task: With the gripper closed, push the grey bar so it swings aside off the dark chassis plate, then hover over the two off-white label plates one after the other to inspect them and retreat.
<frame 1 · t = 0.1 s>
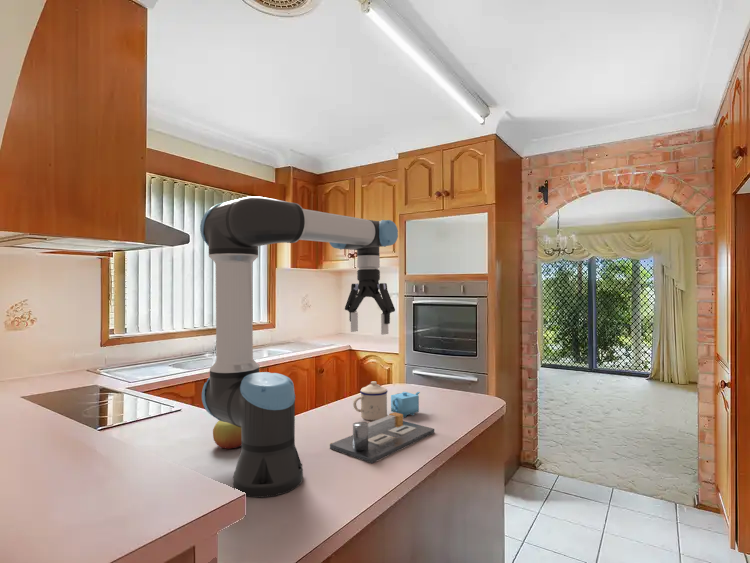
hand: (369, 332, 142), 28 cm above the worktop, fingers open, 13 cm apart
teacup with lid: (370, 418, 141), on the worktop
teapot: (407, 414, 145), on the worktop
chassis plate: (384, 440, 120), on the worktop
grey bar: (378, 428, 117), point 4 cm above the worktop, hinge at 0.0°
apple: (231, 446, 118), on the worktop
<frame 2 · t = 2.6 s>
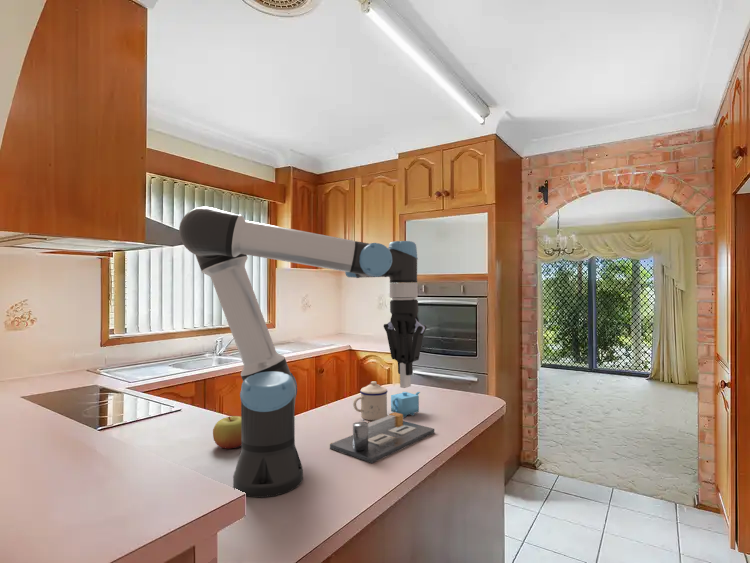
hand: (405, 386, 115), 16 cm above the worktop, fingers closed
nothing on the worktop moved.
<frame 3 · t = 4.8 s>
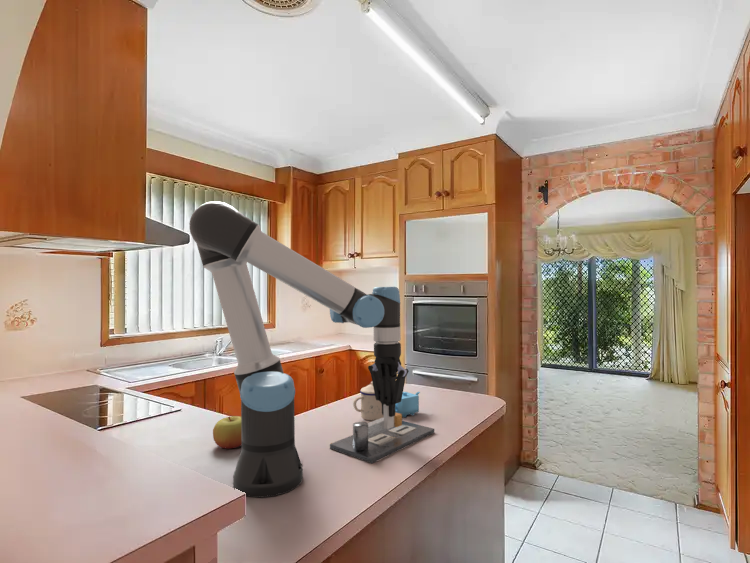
hand: (388, 427, 118), 4 cm above the worktop, fingers closed
grey bar: (377, 428, 117), point 5 cm above the worktop, hinge at 1.6°, touching gripper
everything else where it was.
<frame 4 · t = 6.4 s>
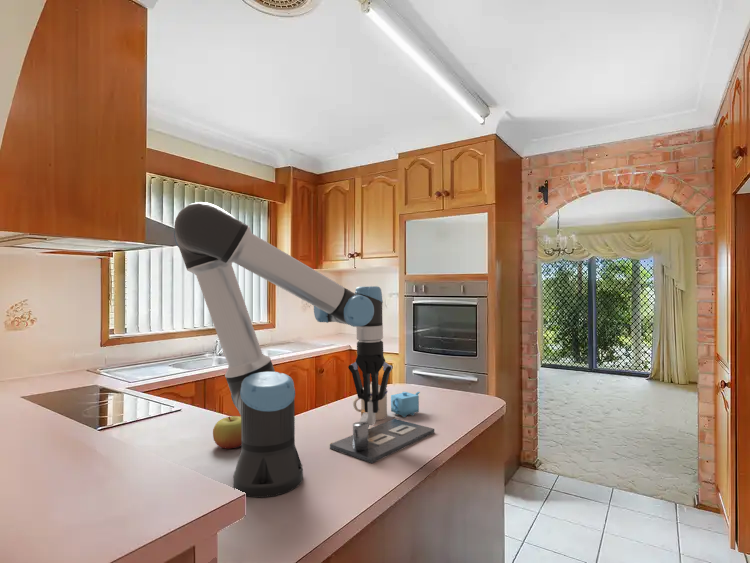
hand: (371, 423, 121), 5 cm above the worktop, fingers closed
grey bar: (363, 426, 119), point 4 cm above the worktop, hinge at 35.4°, touching gripper
everything else where it was.
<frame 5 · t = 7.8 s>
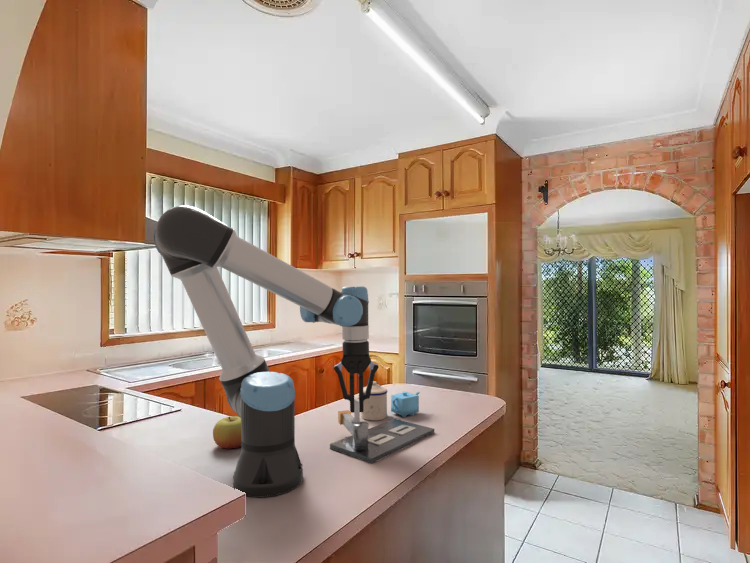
hand: (357, 423, 121), 5 cm above the worktop, fingers closed
grey bar: (352, 427, 118), point 4 cm above the worktop, hinge at 61.3°
everything else where it was.
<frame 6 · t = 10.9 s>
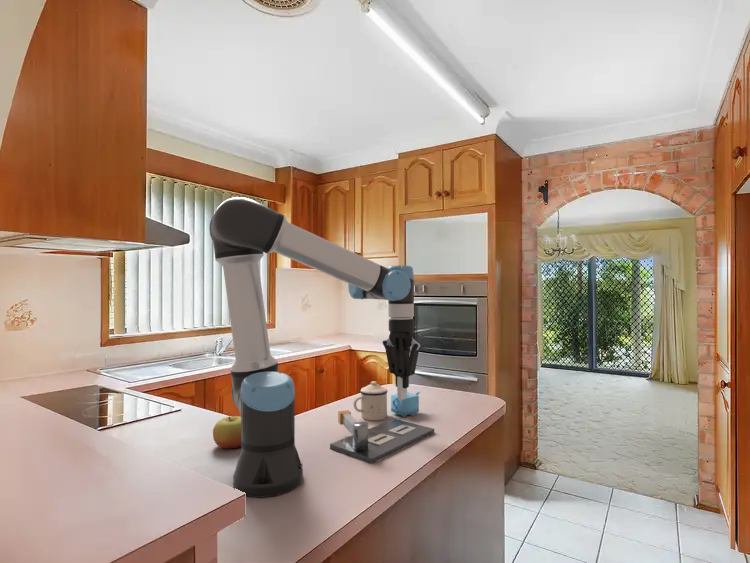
hand: (402, 398, 125), 10 cm above the worktop, fingers closed
nothing on the worktop moved.
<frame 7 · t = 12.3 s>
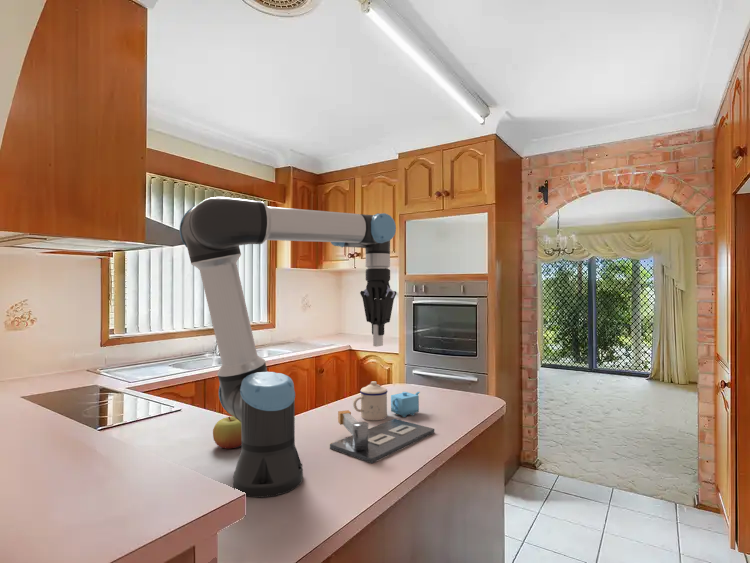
hand: (378, 345, 130), 25 cm above the worktop, fingers closed
nothing on the worktop moved.
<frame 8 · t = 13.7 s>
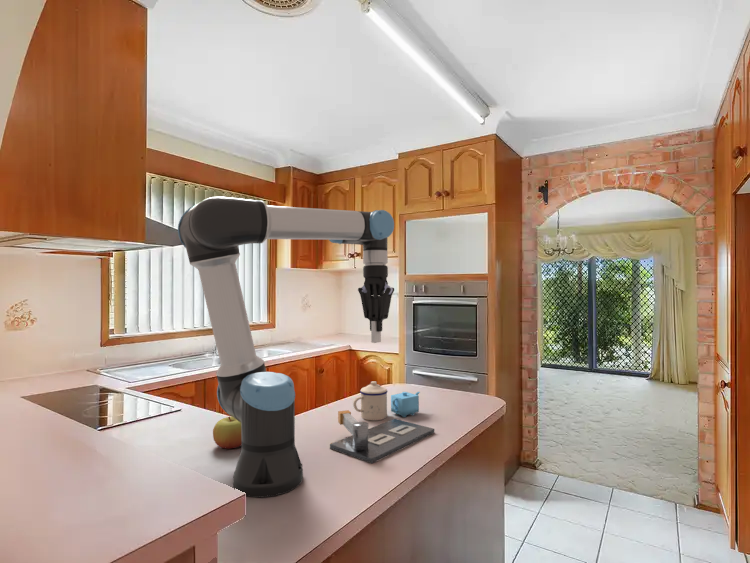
hand: (376, 342, 130), 26 cm above the worktop, fingers closed
nothing on the worktop moved.
at the end: grey bar at +61° (first picture: +0°) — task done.
